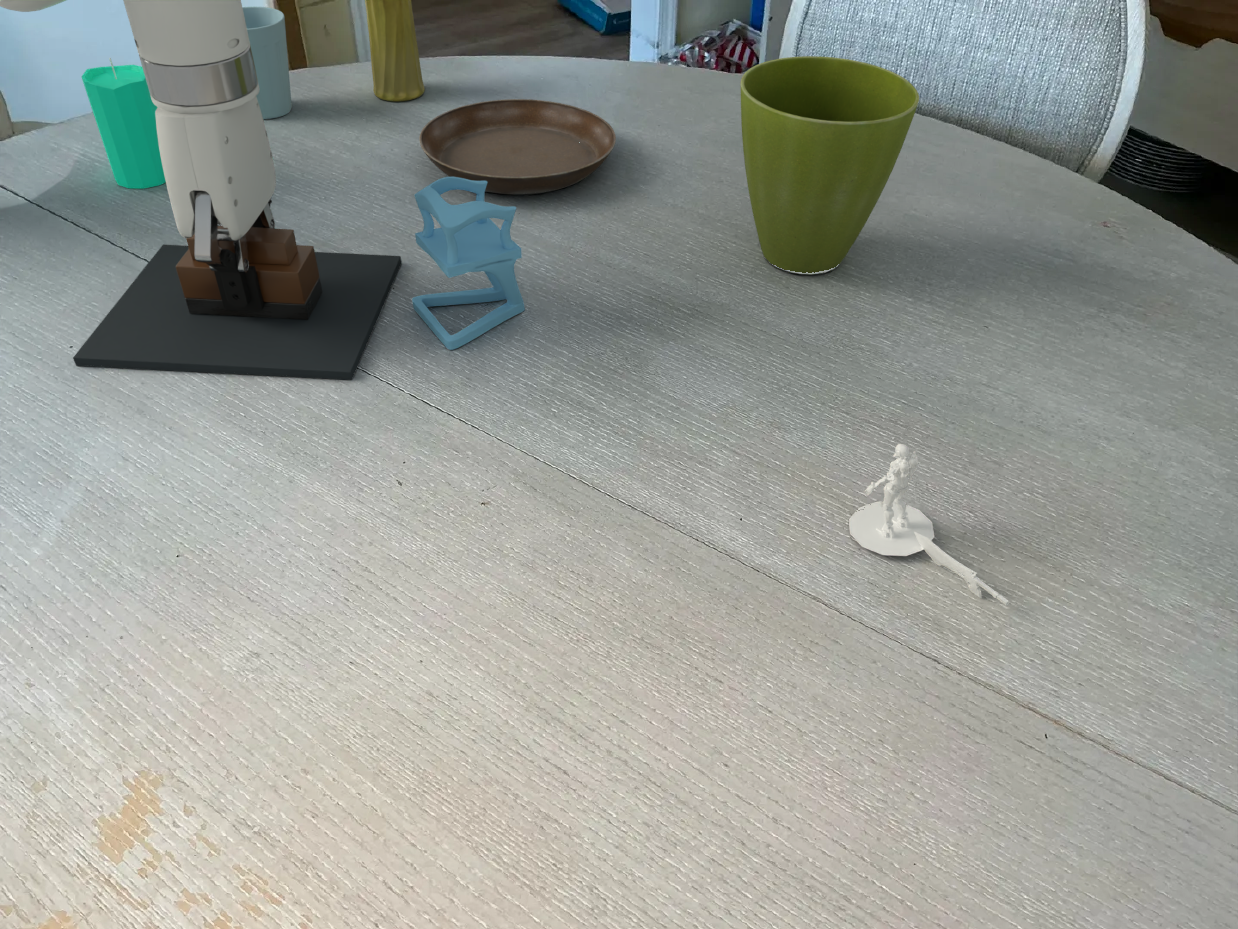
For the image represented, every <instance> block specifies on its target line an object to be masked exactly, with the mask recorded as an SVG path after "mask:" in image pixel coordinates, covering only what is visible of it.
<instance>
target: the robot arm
mask: <svg viewBox="0 0 1238 929" xmlns="http://www.w3.org/2000/svg"><path fill="white" fill-rule="evenodd" d="M66 1H67V0H0V7H1V8H3V9H6V10H8V11H14V12H21V13H31V12H37V11H42V10H45V9H48V8H51V7H54V6H56V5H58V4H61V3H63V2H66ZM122 1H123V4H124V8H125V12H126V15H127V19H128V22H129V26H130V29H131V33H132V36H133V40H134V43H135V47H136V50H137V53H138V57H139V61H140V64H141V67H142V68H143V71H144V75H145V78H146V82H147V86H148V89H149V92H150V96H151V100H152V102H153V104H154V105H156V106H157V107H158V108H157V109H156V111H155V115H156V127H157V135H158V143H159V150H160V156H161V161H162V166H163V171H164V176H165V180H166V183H165V184H166V185H165V186H166V189H167V194H168V197H169V202H170V204H171V205H170V207H171V210H172V214H173V218H174V222H175V225H176V228H177V231H178V233H179V235H180V236H181V237H182V238H184V239H186V238H190V237H192V236H193V235H194V234H195V250H194V254H195V259H196V261H198V262H202V263H206V264H208V265H209V267H210V269H211V271H214V273H215V277H216V281H217V284H218V288H219V291H220V295H221V299H222V302H223V306H224V308H225V309H226V310H230V311H249V312H261V311H262V309H263V308H264V302H263V298H262V294H261V290H260V286H259V281H258V277H257V273H256V269H255V266H249V258H248V251H247V244H246V237H245V234H246V233H247V232H248V230H249V229H250V228H251V227H257V228H276V221H275V218H274V215H273V212H272V209H271V205H272V202H273V200H272V197H273V195H274V193H275V192H276V191H275V190H276V187H277V174H276V167H275V162H274V158H273V157H274V156H273V153H272V147H271V144H270V140H269V135H268V131H267V129H266V125H265V121H264V120H265V119H263V117H262V113H261V110H260V106H259V103H258V100H257V97H256V96H257V95H258V94H259V90H260V89H259V84H258V79H257V74H256V69H255V65H254V60H253V55H252V50H251V46H250V41H249V37H248V32H247V27H246V22H245V18H244V13H243V8H242V7H243V3H242V0H122ZM218 226H223V227H224V228H228V230H223V229H218ZM219 241H234V249H235V253H233V252H232V251H230V250H228V249H222V248H220V247H219Z"/></svg>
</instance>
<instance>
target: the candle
mask: <svg viewBox="0 0 1238 929" xmlns="http://www.w3.org/2000/svg"><path fill="white" fill-rule="evenodd" d="M108 59H109V63H110V65H108V66H97V67H91V68H86V69H85V71H84V72H83V74H82V75H81V80H82V83H83V86H84V89H85V92H86V96H87V98H88V102H89V105H90V107H91V110H92V114H93V116H94V120H95V123H96V126H97V130H98V132H99V135H100V138H101V141H102V144H103V148H104V150H105V153H106V156H107V159H108V162H109V165H110V169H111V172H112V174H113V177H114V178H113V179H114V180H115V183H116V184H117V186H120V187H123V188H126V189H139V190H140V189H141V190H142V189H143V190H144V189H148V188H153V187H159V186H162V185H163V184H166V180H165V176H164V171H163V166H162V161H161V156H160V150H159V143H158V135H157V127H156V115H155V111H156V109H157V108H158V107H157V106H156V105H154V104H153V102H152V100H151V96H150V92H149V89H148V86H147V82H146V78H145V75H144V71H143V68H142V65H137V64H123V65H114V64H113V61H112V57H108Z"/></svg>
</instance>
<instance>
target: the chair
mask: <svg viewBox="0 0 1238 929" xmlns="http://www.w3.org/2000/svg"><path fill="white" fill-rule="evenodd" d="M486 186H487V181H474V180H468V179H464V178H459V177H449V176H445V177H441V178H439V179H436V180H434V181H433V182H431V183H430V184H428V185H426V186H425V187H423V188H422V189H421V190H419V191H417V192H416V193H414V194H413V197H414V198H415V202H416V205H417V208H418V210H419V212H420V215H421V217H422V220H423V221H422V222H423V229H422V231H419V232H415V233H414V235H415V236H414V237H415V243H416V244H417V246H418V247H419V248H420V249H421V250H422V251H423V252H425V253H426V254H427V255H428V256H429V257H430V258H431V259H432V260H433V261H434V262H435V264H436V266H437V267H438V268H439V269H440V271H441V272H442V273H443V274H444V275H445V276H446V277H447V278H448V279H450V278H454V277H455V278H456V277H459V276H462V275H465V274H468V273H481V272H482V273H484V274H485V276H486V277H487V279H488V281H489V282H490V285H492V287H485V288H477V289H467V290H456V291H445V292H436V293H427V294H421V295H417V296H413V297H412V298H411V303H412V308H413V310H414V311H415V313H416V314H417V315H418V316H419V318H421V320H422V321H423V322H424V323H425V324H426V325H427V327H428V328H429V329H430V330H431V331H432V333H433V334H434V335H435V336H436V337H437V339H439V341H440V342H441V343H442V344H443V346H444V347H445V348H446V349H447V350H448V351H452V350H453V351H454V350H457V349H458V348H460V347H462V346H465V345H466V344H468V343H469V342H472V341H473V340H475V339H477V338H478V337H480V336H482V335H484V334H485V333H487V332H489V331H490V330H492V329H493V328H495V327H497V326H499V325H500V324H502V323H505V321H507V320H509V319H511V318H513V317H515V316H517V315H519V314H521V313H523V312H525V310H526V306H525V302H524V298H523V296H522V293H521V290H520V287H519V285H518V281H517V278H516V272H515V265H516V262H517V261H518V260H519V259H522V258H523V256H522V255H523V254H522V253H523V252H522V247H520V245H519V244H517V242H515V240H513V239H512V236H511V227H512V224H513V221H514V217H515V214H516V211H517V207H516V205H515V206H514V205H510V206H505V205H500V204H495V203H492V202H488V201H485V192H486V191H485V189H486ZM454 190H455V191H456V190H459V191H465V192H466V191H467V192H470V193H473V194H476V195H475V200H473V201H472V200H471V201H467V202H463V203H459V204H451V203H449V202H447V201H446V200H445V199H444V198H443V197H442V196H441V195H443V194H444V193H446V192H449V191H454ZM433 218H434V219H433ZM492 219H498V220H503V221H502V224H501V227H500V228H499V227H498V225H497V224H496V223H495V222H494V221H493V220H492ZM434 220H436V222H437V224H438V225H439V226H440V227H435V222H434ZM503 300H506V302H505V303H503V304H501V305H500V306H497V307H496V308H495V309H493V310H491V311H490V312H488V313H486V314H485V315H483V316H482V317H480V318H478V319H477V320H474V321H473V322H472V323H470V324H469V325H467V326H465V327H463V329H461V330H459V331H457V332H456V333H454V334H450V333H449V332H448V330H446V328H445V327H444V326H443V325H442V324H441V322H439V320H438V319H437V317H436V316H435V315H434V314H433V313H432V312H431V310H430V309H429V308H433V307H442V306H443V307H444V306H457V305H468V304H480V303H490V302H498V301H503Z"/></svg>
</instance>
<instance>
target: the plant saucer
mask: <svg viewBox="0 0 1238 929" xmlns="http://www.w3.org/2000/svg"><path fill="white" fill-rule="evenodd" d="M616 135H617V134H616V132H615V130H614V129H613V127H612V126H611V124H610V123H609V122H608V121H606V120H605V119H604V118H603V117H600V116H599V115H597V114H595V113H593V112H592V111H589V110H588V109H587V110H586V109H584V108H582V107H578V106H574V105H570V104H567V103H566V104H565V103H561V102H555V101H552V100H551V101H550V100H541V99H531V98H530V99H529V98H528V99H527V98H506V99H505V98H504V99H493V100H487V101H486V100H485V101H479V102H474V103H470V104H466V105H462V106H459V107H455V108H453V109H450V110H447V111H444V112H442V113H441V114H439V115H437V116H435V117H434V118H432V119H431V120H429V121H428V122H427V123H426V124H425V125H424V127H422V129H421V131H420V134H419V137H418V139H419V145H420V147H421V149H422V151H423V152H424V154H425V155H426V156H427V158H428V159H429V160H430V161H431V163H432V164H433V165H434V166H435V167H436V168H438V169H439V171H441V172H443V173H444V174H445V175H446V176H447V177H459V178H464V179H468V180H474V181H487V186H486V189H485V192H488V193H492V194H493V193H494V194H502V195H534V194H535V195H536V194H542V193H549V192H554V191H557V190H561V189H564V188H567V187H570V186H572V185H574V184H577V183H579V182H581V181H582V180H585V179H586V178H587V177H589V176H590V175H591V174H593V173H594V172H595V171H596V170H598V168H600V166H602V164H603V163H604V162H605V161H606V160H607V158H608V157H609V156H610V154H611V153H612V151H613V149H614V147H615V145H616V142H617V136H616ZM579 142H580V143H579Z"/></svg>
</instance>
